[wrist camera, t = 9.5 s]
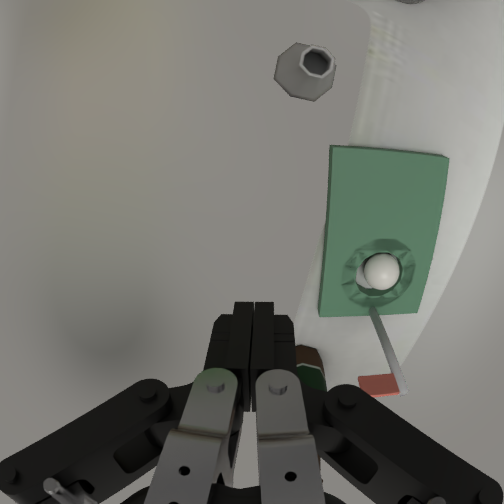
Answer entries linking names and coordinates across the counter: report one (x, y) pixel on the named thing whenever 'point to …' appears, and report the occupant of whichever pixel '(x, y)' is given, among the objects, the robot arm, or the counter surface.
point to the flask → (305, 71)
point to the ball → (381, 271)
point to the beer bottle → (310, 370)
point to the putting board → (380, 238)
